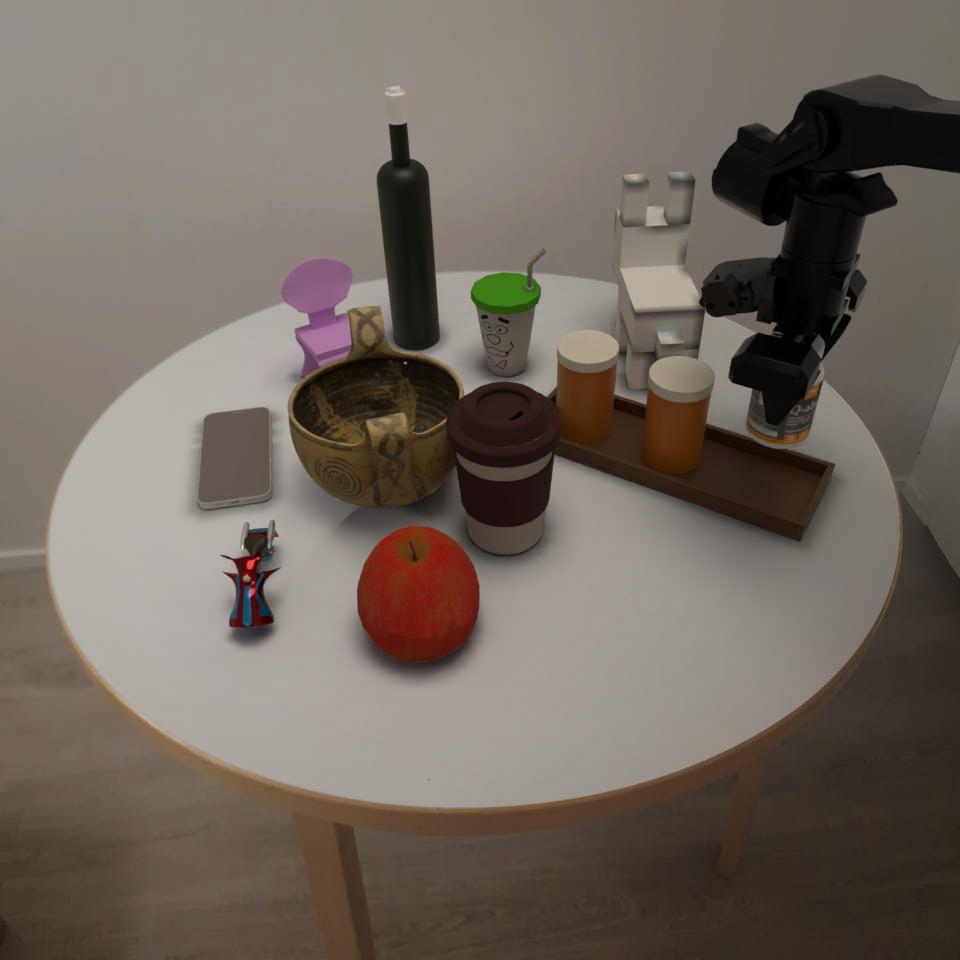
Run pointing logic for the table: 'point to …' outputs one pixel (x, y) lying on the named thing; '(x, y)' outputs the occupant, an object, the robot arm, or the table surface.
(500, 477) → the coffee cup
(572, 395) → the amber bottle far
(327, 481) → the ceramic bowl
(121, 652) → the table surface
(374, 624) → the apple
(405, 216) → the wine bottle
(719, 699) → the table surface
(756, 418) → the pill bottle
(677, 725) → the table surface
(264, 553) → the hoverbike
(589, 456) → the tray
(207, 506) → the smartphone
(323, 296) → the toy chair
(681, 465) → the amber bottle middle
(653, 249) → the toy llama
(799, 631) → the table surface
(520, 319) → the cup
